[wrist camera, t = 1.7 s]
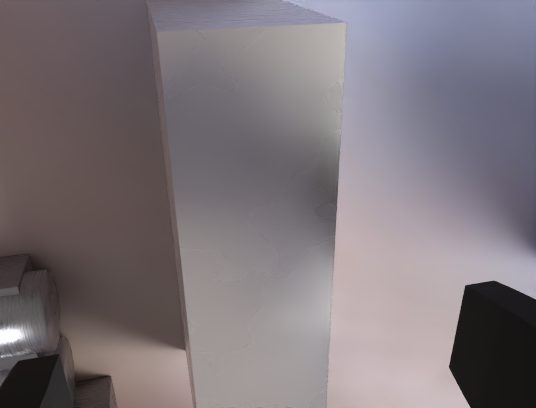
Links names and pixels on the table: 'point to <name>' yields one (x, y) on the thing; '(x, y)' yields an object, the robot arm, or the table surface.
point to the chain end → (40, 329)
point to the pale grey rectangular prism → (251, 192)
